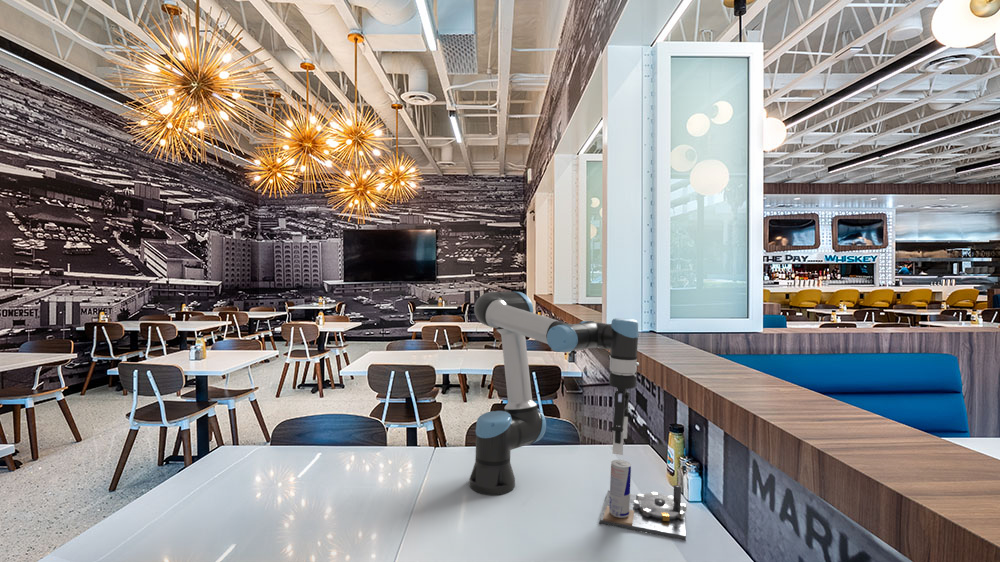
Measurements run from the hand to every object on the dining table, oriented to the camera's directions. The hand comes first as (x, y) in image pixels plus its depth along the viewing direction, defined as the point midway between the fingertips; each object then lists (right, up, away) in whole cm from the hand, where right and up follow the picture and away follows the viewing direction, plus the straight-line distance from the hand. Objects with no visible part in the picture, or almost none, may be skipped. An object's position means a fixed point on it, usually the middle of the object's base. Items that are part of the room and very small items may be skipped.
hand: (620, 445), depth 141 cm
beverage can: (0, -20, 0) cm, 20 cm away
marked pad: (0, -21, 0) cm, 21 cm away
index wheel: (+13, -20, +5) cm, 25 cm away
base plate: (+8, -22, +4) cm, 24 cm away
